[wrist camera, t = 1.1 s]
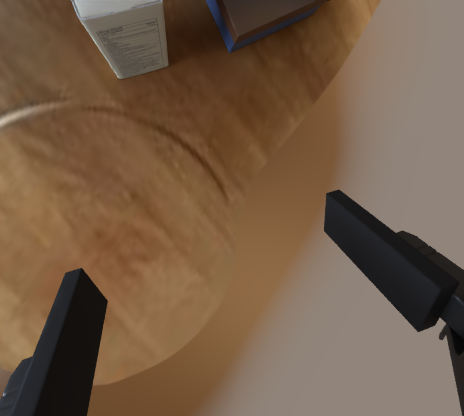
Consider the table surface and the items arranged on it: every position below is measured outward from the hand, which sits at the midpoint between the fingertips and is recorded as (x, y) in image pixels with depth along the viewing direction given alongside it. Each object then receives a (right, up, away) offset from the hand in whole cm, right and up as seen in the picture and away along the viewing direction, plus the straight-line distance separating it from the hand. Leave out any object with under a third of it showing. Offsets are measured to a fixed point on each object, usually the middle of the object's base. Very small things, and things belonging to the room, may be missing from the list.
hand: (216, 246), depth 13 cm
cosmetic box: (-10, +20, +16) cm, 28 cm away
